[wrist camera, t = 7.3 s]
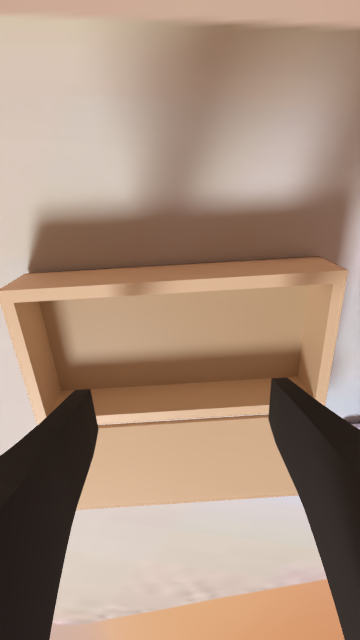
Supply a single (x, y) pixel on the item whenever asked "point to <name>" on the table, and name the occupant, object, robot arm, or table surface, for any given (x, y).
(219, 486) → the lid flap
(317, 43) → the table surface
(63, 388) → the carton
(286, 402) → the robot arm
